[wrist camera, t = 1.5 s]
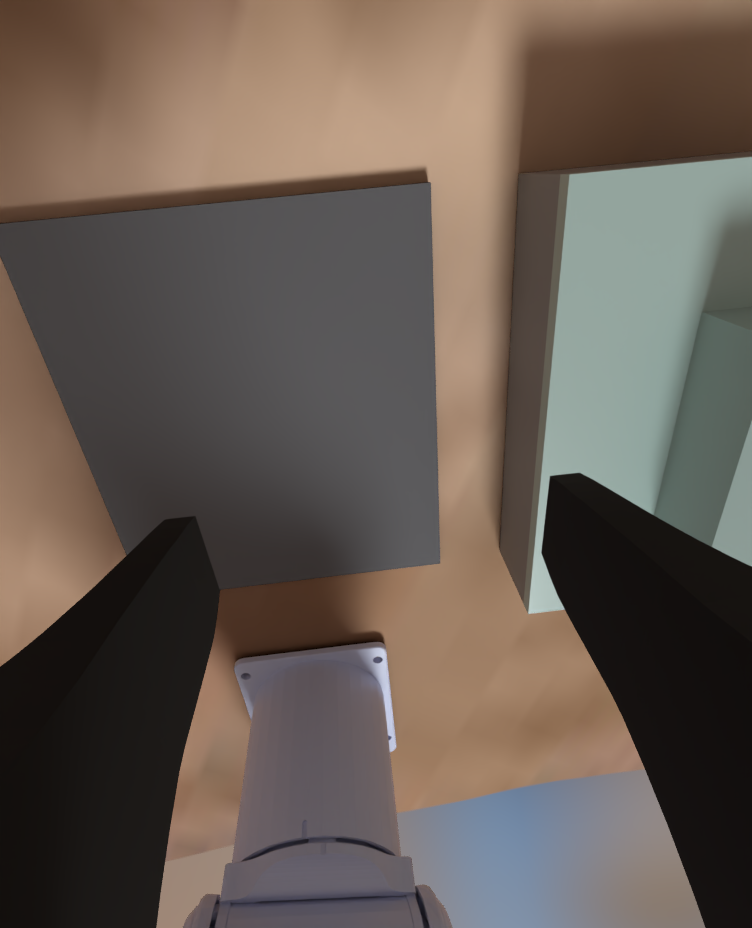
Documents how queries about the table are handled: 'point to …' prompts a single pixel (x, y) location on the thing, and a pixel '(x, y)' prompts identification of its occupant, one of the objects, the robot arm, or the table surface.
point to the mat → (250, 373)
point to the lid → (651, 351)
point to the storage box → (534, 348)
